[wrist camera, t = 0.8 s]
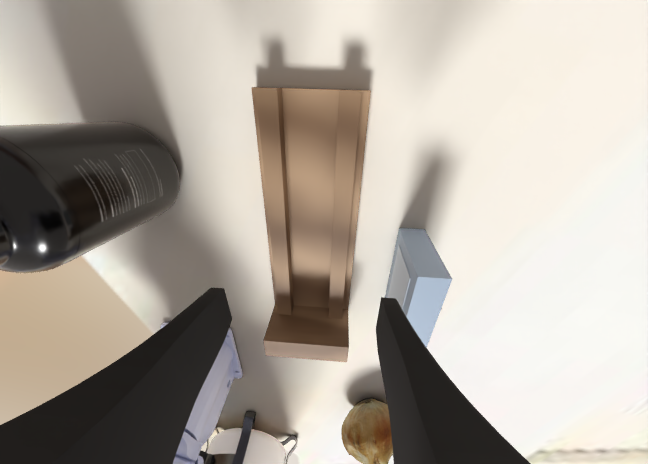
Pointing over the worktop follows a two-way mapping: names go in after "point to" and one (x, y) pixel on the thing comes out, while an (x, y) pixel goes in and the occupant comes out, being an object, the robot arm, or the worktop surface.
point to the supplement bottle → (77, 189)
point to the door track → (310, 213)
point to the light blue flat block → (418, 280)
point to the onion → (368, 432)
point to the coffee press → (246, 446)
